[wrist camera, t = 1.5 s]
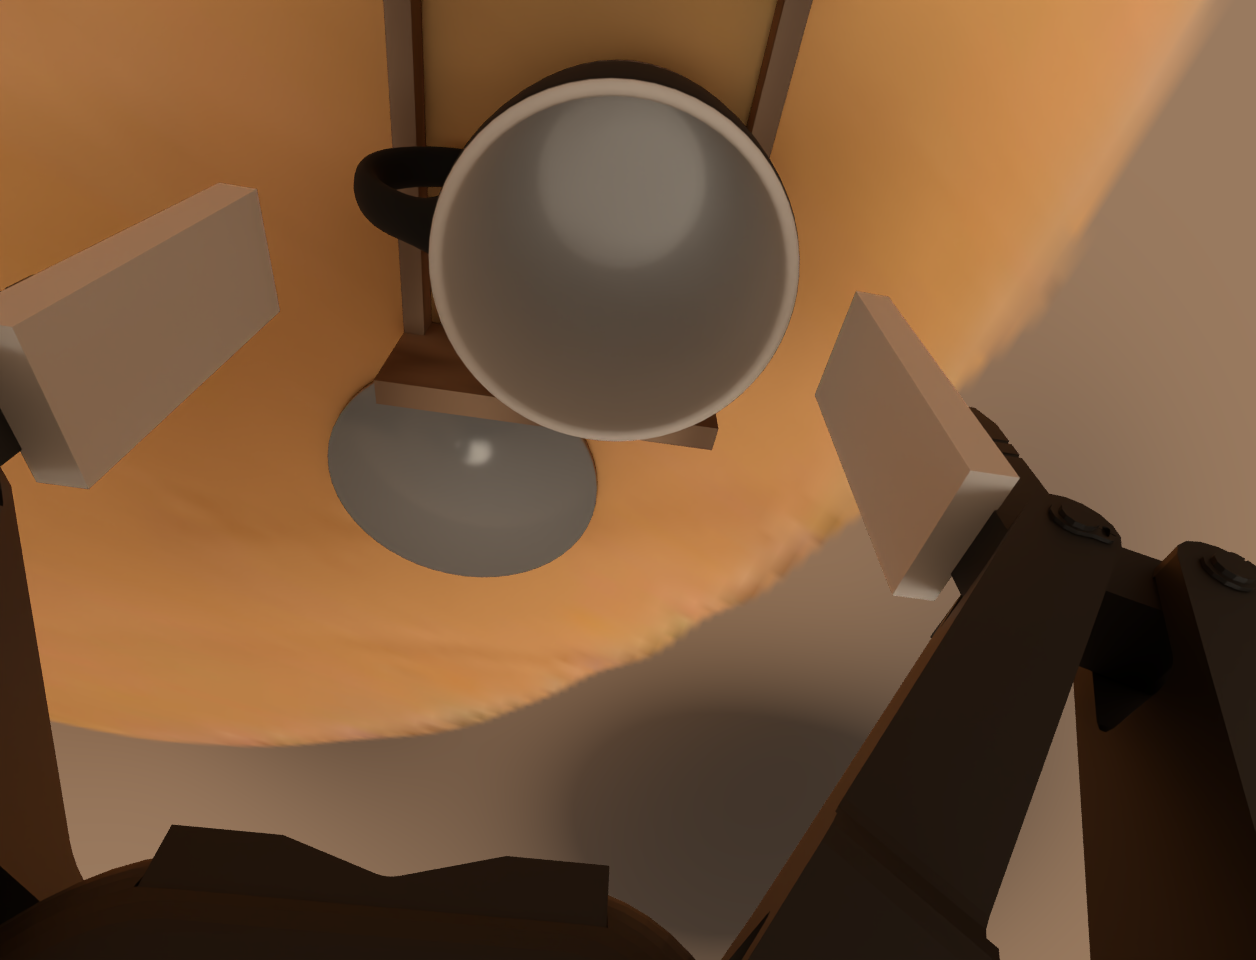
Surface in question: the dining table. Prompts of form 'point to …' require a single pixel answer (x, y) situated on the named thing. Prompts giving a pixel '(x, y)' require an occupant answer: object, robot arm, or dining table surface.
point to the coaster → (461, 487)
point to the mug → (601, 249)
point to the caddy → (424, 354)
